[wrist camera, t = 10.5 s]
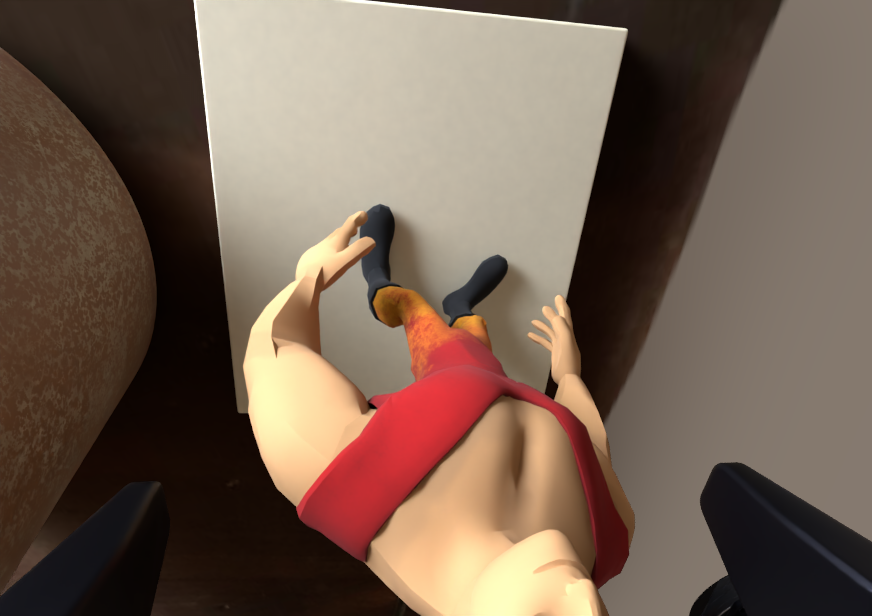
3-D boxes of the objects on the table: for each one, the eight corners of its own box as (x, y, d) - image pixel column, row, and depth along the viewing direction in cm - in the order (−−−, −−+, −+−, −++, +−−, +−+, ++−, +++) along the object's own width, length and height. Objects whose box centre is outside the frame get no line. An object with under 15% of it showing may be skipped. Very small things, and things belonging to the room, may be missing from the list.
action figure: (568, 269, 19) (1029, 828, 6) (517, 348, 20) (802, 942, 7) (313, 155, 16) (118, 776, 3) (273, 256, 17) (22, 987, 4)
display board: (615, 28, 16) (629, 28, 15) (534, 395, 23) (541, 410, 22) (201, -17, 14) (191, -19, 14) (242, 397, 21) (237, 413, 20)
